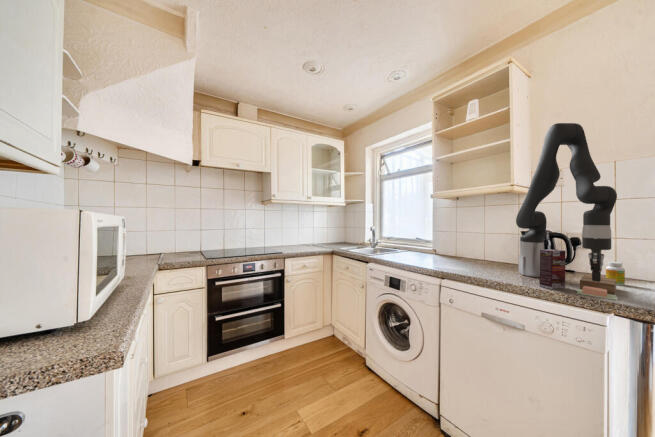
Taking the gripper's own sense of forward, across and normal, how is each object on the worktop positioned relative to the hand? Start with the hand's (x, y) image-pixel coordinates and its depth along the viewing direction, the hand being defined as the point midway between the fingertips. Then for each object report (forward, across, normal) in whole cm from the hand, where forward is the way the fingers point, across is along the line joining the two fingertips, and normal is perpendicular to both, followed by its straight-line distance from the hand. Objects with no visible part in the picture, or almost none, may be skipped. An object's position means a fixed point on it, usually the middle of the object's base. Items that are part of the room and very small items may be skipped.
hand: (596, 281), depth 92 cm
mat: (+5, +3, 0) cm, 6 cm away
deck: (+5, -8, 0) cm, 10 cm away
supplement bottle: (+5, -28, +4) cm, 28 cm away
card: (+2, +3, 0) cm, 4 cm away
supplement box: (+5, +2, -12) cm, 13 cm away
